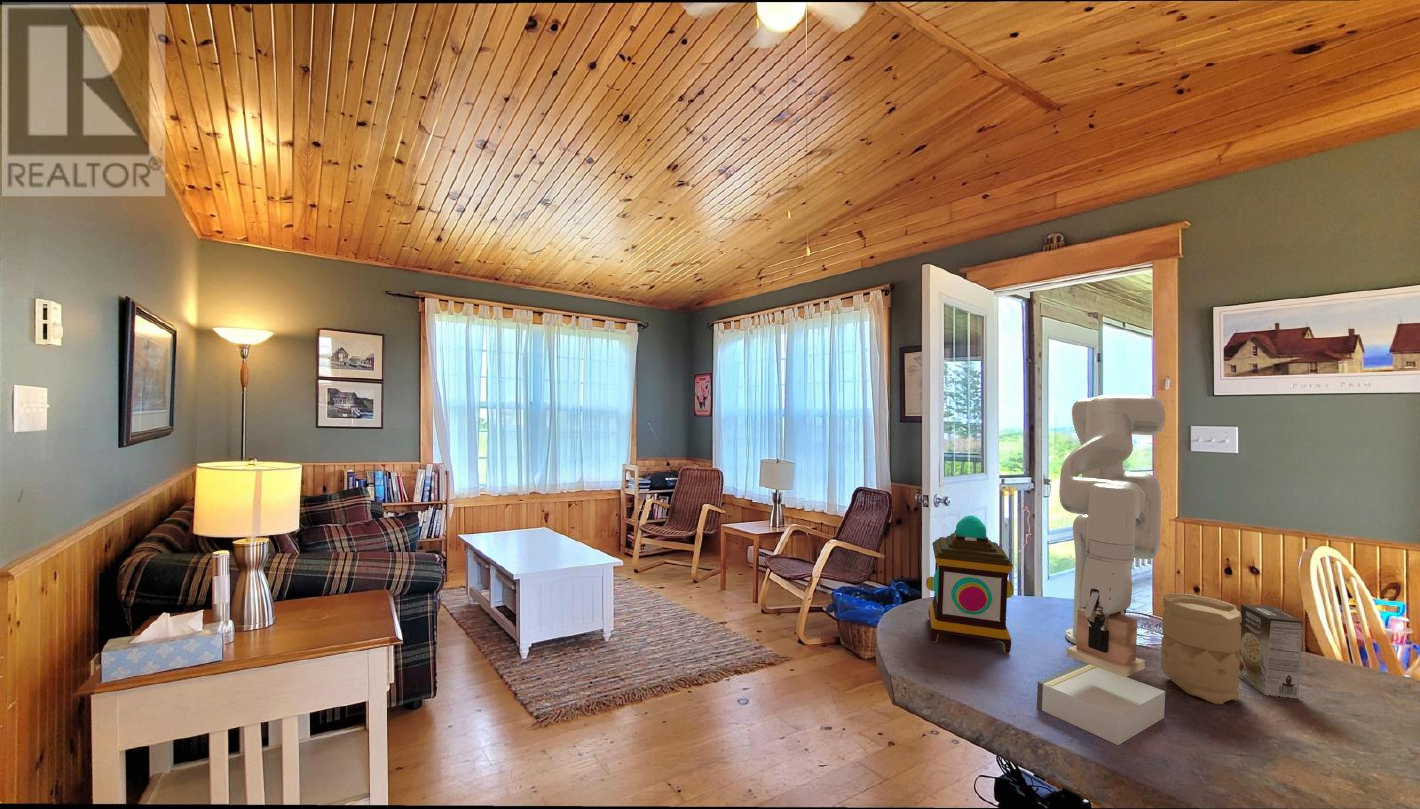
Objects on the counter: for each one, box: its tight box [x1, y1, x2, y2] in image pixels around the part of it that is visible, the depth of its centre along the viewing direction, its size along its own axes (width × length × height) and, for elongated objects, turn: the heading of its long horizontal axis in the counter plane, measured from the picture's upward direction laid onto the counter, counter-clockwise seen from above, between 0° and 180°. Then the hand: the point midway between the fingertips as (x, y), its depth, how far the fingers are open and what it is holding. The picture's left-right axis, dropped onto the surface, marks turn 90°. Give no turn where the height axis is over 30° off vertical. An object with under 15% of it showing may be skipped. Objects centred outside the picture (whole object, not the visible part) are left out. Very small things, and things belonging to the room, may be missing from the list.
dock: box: [1036, 662, 1166, 746], centre depth 114 cm, size 18×14×5 cm
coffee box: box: [1239, 603, 1304, 699], centre depth 127 cm, size 9×6×16 cm
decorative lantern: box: [925, 514, 1014, 655], centre depth 149 cm, size 20×20×30 cm
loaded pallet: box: [1066, 608, 1146, 678], centre depth 113 cm, size 8×10×9 cm
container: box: [1160, 592, 1242, 705], centre depth 124 cm, size 13×13×18 cm
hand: (1105, 645), depth 113 cm, fingers closed on loaded pallet, 5 cm apart
